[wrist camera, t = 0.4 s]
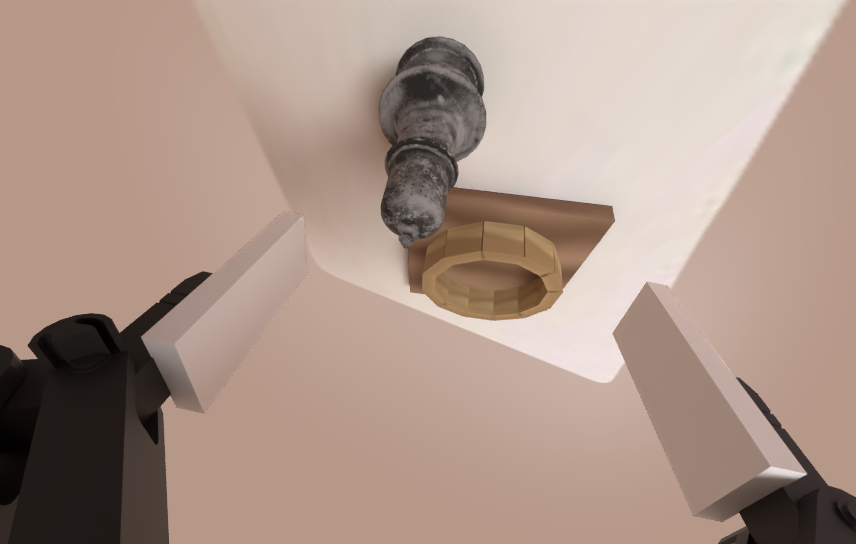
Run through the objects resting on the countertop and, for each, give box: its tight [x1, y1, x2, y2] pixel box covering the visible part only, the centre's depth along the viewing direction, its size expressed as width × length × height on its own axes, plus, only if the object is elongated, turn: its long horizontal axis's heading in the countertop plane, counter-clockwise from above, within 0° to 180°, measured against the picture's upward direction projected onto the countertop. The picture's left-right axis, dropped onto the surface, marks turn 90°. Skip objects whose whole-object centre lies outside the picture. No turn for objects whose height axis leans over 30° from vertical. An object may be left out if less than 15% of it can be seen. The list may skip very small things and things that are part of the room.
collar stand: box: [408, 188, 615, 321], centre depth 32 cm, size 16×16×4 cm
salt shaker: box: [379, 37, 486, 248], centre depth 17 cm, size 6×6×12 cm
